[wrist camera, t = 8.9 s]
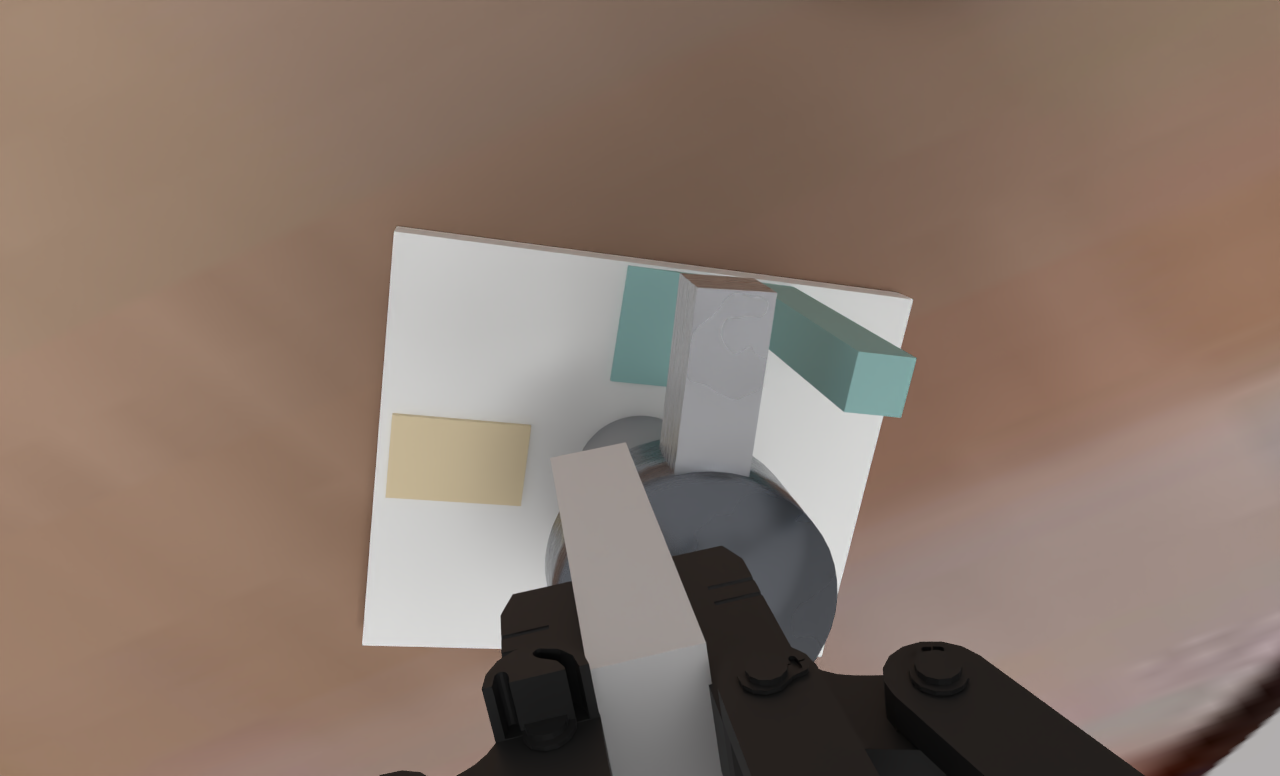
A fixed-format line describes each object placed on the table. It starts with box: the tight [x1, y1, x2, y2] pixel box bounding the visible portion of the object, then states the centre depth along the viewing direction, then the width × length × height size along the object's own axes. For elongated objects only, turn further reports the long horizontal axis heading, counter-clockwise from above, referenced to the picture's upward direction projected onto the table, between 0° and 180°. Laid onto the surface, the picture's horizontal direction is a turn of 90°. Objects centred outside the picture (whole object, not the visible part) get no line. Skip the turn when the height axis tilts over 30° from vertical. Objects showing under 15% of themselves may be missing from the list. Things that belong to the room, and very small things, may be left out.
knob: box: [545, 273, 837, 662], centre depth 24 cm, size 15×8×3 cm, turn 174°
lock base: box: [362, 226, 917, 657], centre depth 27 cm, size 18×15×10 cm
